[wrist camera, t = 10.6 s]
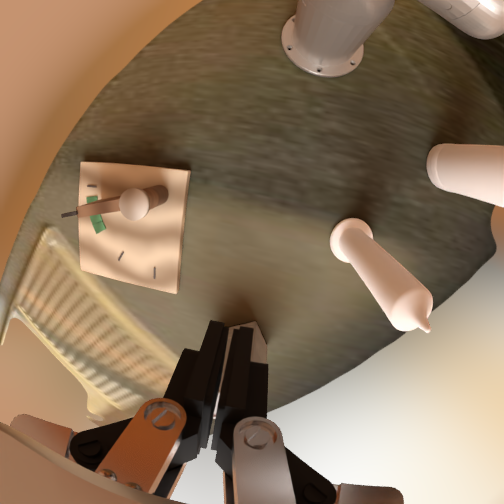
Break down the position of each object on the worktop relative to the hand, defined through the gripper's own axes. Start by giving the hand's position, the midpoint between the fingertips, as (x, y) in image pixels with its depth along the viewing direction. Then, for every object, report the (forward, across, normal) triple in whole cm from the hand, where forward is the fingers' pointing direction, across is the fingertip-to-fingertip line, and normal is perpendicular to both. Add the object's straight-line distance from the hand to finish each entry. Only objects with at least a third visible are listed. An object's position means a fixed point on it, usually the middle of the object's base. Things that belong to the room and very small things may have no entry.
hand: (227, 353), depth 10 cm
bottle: (+32, -29, -14) cm, 46 cm away
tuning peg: (+30, +21, +2) cm, 37 cm away
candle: (+32, -15, +2) cm, 36 cm away
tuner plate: (+32, +21, +6) cm, 39 cm away
